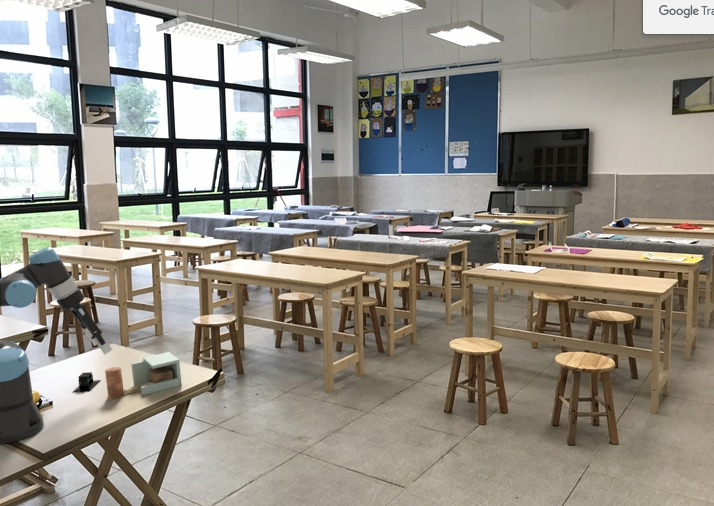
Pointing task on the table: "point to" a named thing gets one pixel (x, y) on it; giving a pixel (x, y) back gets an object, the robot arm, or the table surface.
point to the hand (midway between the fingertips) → (103, 347)
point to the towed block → (117, 389)
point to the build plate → (86, 383)
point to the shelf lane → (153, 362)
